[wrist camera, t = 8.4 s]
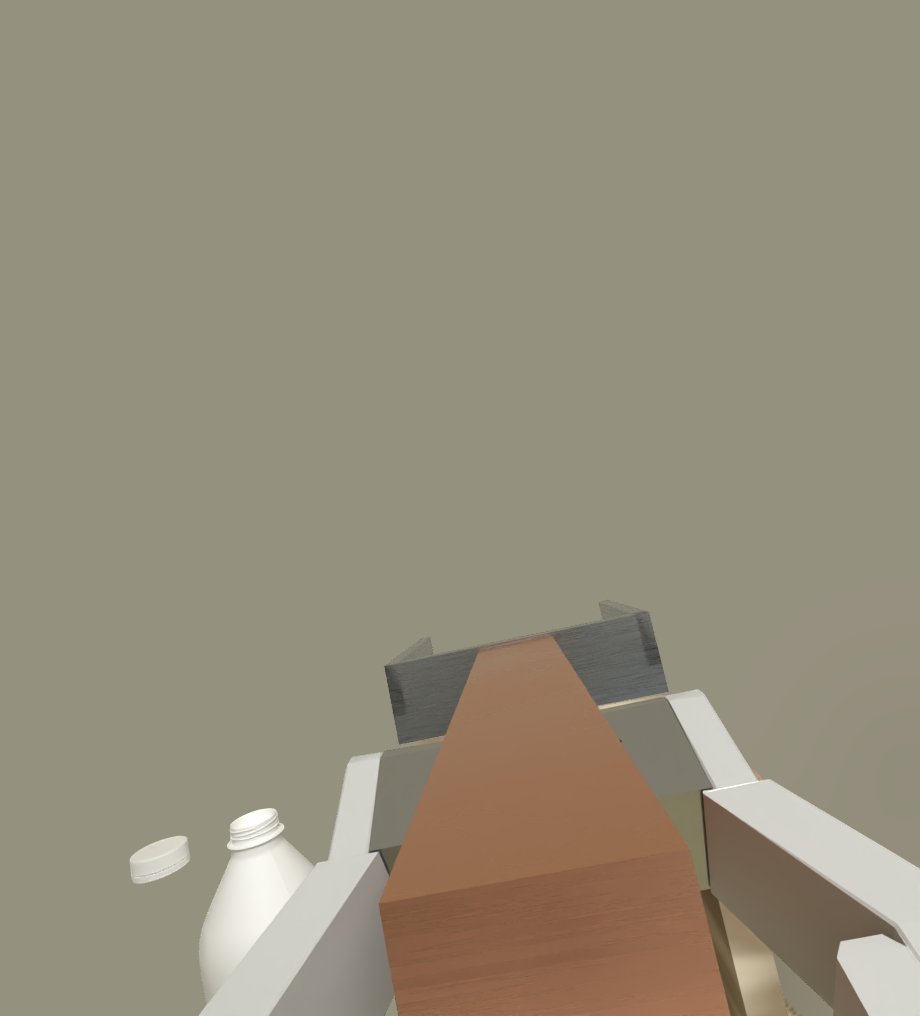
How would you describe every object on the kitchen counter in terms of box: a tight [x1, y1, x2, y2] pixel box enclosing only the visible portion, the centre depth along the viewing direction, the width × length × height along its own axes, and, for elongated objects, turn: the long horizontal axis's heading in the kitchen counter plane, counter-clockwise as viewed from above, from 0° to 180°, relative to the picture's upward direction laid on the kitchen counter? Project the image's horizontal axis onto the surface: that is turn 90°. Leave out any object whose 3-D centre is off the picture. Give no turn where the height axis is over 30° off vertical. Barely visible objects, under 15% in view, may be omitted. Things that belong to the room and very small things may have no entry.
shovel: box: [379, 600, 731, 1016], centre depth 14 cm, size 8×20×2 cm, turn 175°
